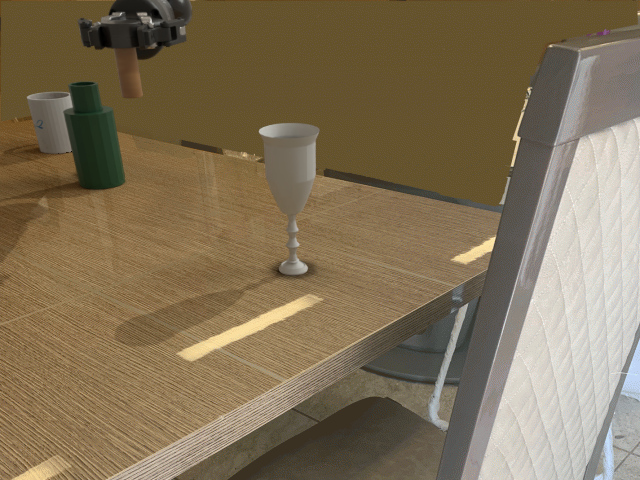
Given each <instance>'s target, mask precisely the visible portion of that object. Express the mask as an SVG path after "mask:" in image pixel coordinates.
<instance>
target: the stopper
mask: <svg viewBox="0 0 640 480" xmlns="http://www.w3.org/2000/svg"><path fill="white" fill-rule="evenodd" d="M100 22H101V21H100ZM139 26H141V23H140V21H137V20H111V21H103V22H101V29H102V34H103V40H104V45H105V48H106V49H107V48H114V49H113V53H114V59H115V65H116V71H117V76H118V81H119V87H120V92H121V93H120V94H121V97H122V98H123V99H139V98H142V97H143V96H144V92H143V85H142V80H141V73H140V67H139V66H140V65H139V60H138V59H137V53H136V48H137V47H139V42H138V35H137V27H139Z"/></svg>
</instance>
